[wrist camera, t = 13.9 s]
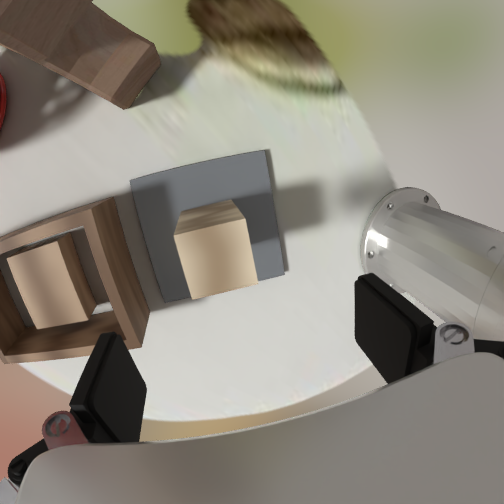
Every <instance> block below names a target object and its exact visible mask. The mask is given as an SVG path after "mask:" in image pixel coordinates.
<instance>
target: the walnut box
mask: <svg viewBox="0 0 504 504" xmlns="http://www.w3.org/2000/svg"><path fill="white" fill-rule="evenodd" d="M80 226H84V229H85V233H86V236H87V239H88V242H89V245H90V249H91V252H92V255H93V258H94V260H95V263H96V266H97V269H98V272H99V275H100V277H101V280H102V283H103V285H104V288H105V290H106V293H107V295H108V298H109V300H110V303H111V305H112V308H113V310H114V311H110V312H105V313H100V314H95V315H91V314H92V313H93V311H94V309H95V307H96V306H97V305H96V302H95V300H94V297H93V295H92V293H91V290H90V288H89V285H88V282H87V280H86V277H85V275H84V272H83V269H82V266H81V264H80V261H79V258H78V255H77V252H76V249H75V246H74V243H73V240H72V237H71V233H70V232H69V233H66V234H63V235H60V236H57V237H54V238H51V239H48V240H45V241H42V242H39V243H36V244H33V245H30V246H28V247H25V248H22V249H20V250H18V251H17V252H15V253H14V254H12V255H11V256H10V257H8V258H7V261H8V264H9V267H10V269H11V272H12V275H13V277H14V280H15V282H16V285H17V287H18V289H19V292H20V294H21V296H22V299H23V301H24V303H25V305H26V307H27V310H28V312H29V314H30V316H31V318H32V320H33V322H34V324H35V326H31V327H25V325H24V323H23V321H22V319H21V317H20V315H19V313H18V310H17V308H16V306H15V304H14V302H13V299H12V297H11V295H10V293H9V290H8V288H7V285H6V283H5V281H4V278H3V275H2V273H1V270H0V358H1V360H2V362H3V363H4V364H10V363H24V362H36V361H46V360H56V359H65V358H73V357H81V356H89V355H91V353H92V351H93V349H94V347H95V344H96V342H97V340H98V338H99V336H100V334H102V333H107V332H113V331H114V332H116V334H117V335H118V334H119V335H121V337H122V339H123V341H124V343H125V345H126V347H127V349H128V350H129V349H135V348H141V347H142V344H143V339H144V335H145V331H146V327H147V323H148V319H149V315H150V311H149V308H148V305H147V303H146V300H145V297H144V295H143V292H142V289H141V286H140V283H139V280H138V277H137V275H136V272H135V269H134V266H133V262H132V259H131V256H130V253H129V250H128V247H127V243H126V240H125V237H124V233H123V230H122V226H121V223H120V219H119V215H118V212H117V208H116V204H115V200H114V197H111V198H107V199H104V200H101V201H98V202H94V203H91V204H88V205H85V206H82V207H79V208H76V209H73V210H70V211H67V212H64V213H62V214H59V215H56V216H53V217H50V218H48V219H45V220H42V221H40V222H37V223H34V224H32V225H29V226H27V227H24V228H22V229H19V230H17V231H14V232H12V233H9V234H7V235H5V236H2V237H0V254H2V253H5V252H7V251H10V250H12V249H15V248H18V247H21V246H23V245H26V244H29V243H32V242H34V241H37V240H40V239H43V238H46V237H49V236H52V235H55V234H58V233H61V232H64V231H67V230H70V229H73V228H76V227H80Z"/></svg>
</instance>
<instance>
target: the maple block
mask: <svg viewBox="0 0 504 504" xmlns="http://www.w3.org/2000/svg"><path fill="white" fill-rule="evenodd" d="M174 239H175V243H176V246H177V250H178V254H179V257H180V261H181V264H182V267H183V271H184V274H185V277H186V281H187V284H188V287H189V291H190V294H191V297H192V300H194V299H198V298H202V297H206V296H211V295H215V294H219V293H223V292H227V291H231V290H236V289H240V288H244V287H248V286H252V285H256V284H258V279H257V274H256V269H255V264H254V259H253V254H252V249H251V244H250V239H249V234H248V229H247V224H246V219H245V217H244V216H243V215H242V213H241V212H240V211H239V209H238V208H237V207H236V205H235V204H234V203H233V201H232V200H227V201H222V202H218V203H214V204H209V205H205V206H201V207H197V208H193V209H189V210H184V211H181V213H180V216H179V219H178V223H177V226H176V229H175V232H174Z"/></svg>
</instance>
